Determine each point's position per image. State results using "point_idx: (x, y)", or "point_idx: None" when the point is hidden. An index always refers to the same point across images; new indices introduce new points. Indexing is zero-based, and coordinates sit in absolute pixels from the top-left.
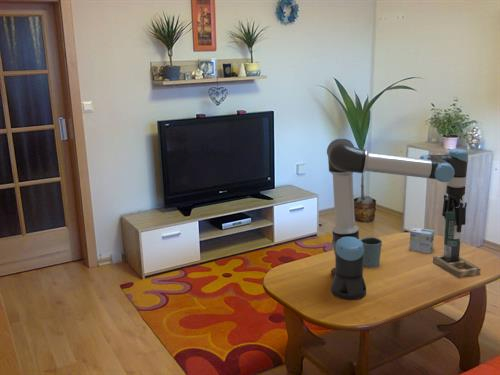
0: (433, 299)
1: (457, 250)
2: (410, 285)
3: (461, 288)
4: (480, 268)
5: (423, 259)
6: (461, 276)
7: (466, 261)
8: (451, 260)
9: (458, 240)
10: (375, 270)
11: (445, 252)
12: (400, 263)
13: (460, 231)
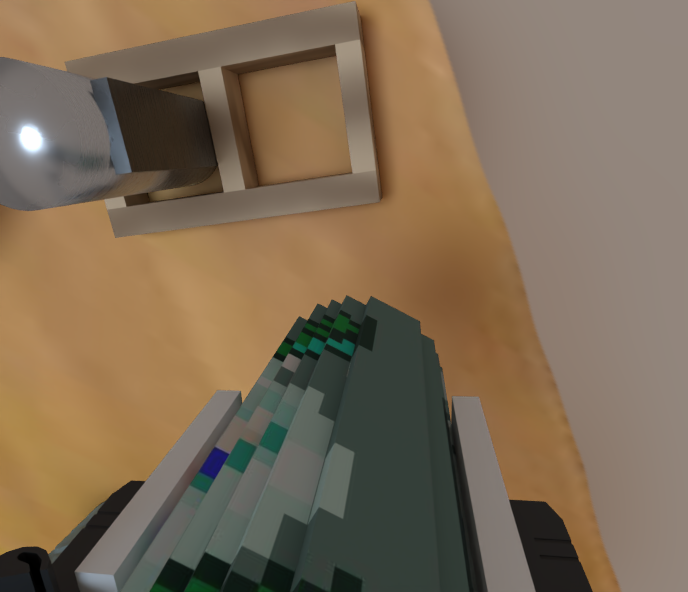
0: (575, 464)
1: (163, 113)
2: None
3: (510, 260)
4: (354, 2)
5: (92, 261)
6: (379, 180)
7: (216, 41)
8: (209, 166)
9: (436, 374)
10: None
11: (140, 193)
12: (138, 405)
13: (556, 525)
